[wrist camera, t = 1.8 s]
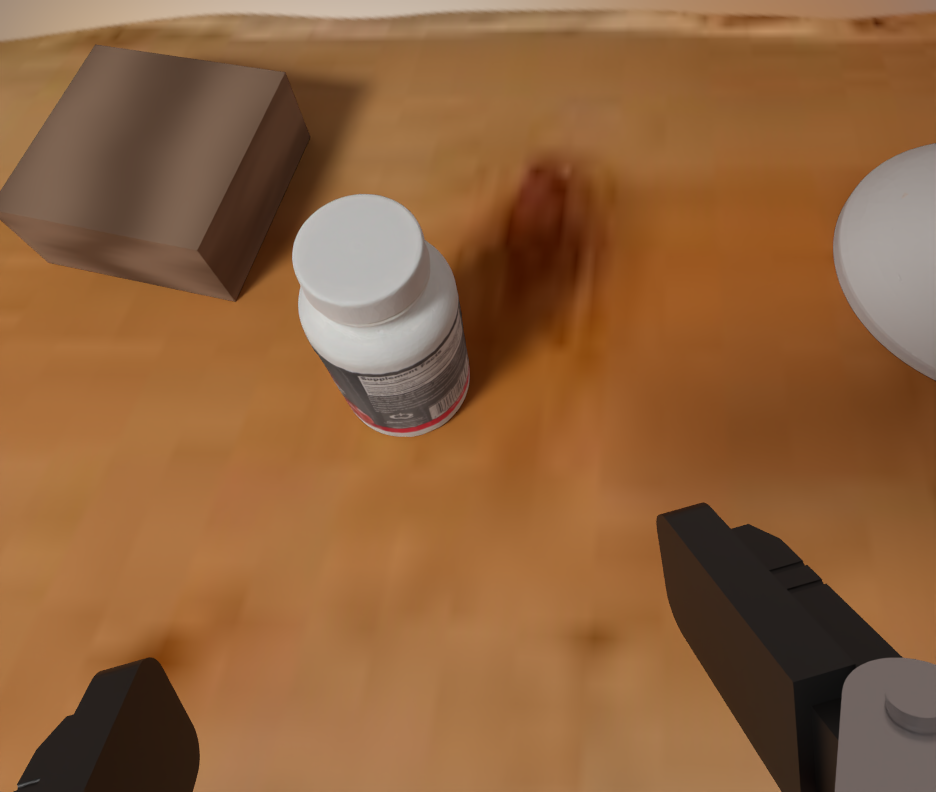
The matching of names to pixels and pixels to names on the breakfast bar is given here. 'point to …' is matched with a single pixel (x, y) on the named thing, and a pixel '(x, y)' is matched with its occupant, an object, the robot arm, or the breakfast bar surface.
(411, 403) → the pill bottle
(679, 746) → the breakfast bar surface
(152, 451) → the breakfast bar surface
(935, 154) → the grey pole stand
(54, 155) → the walnut base
